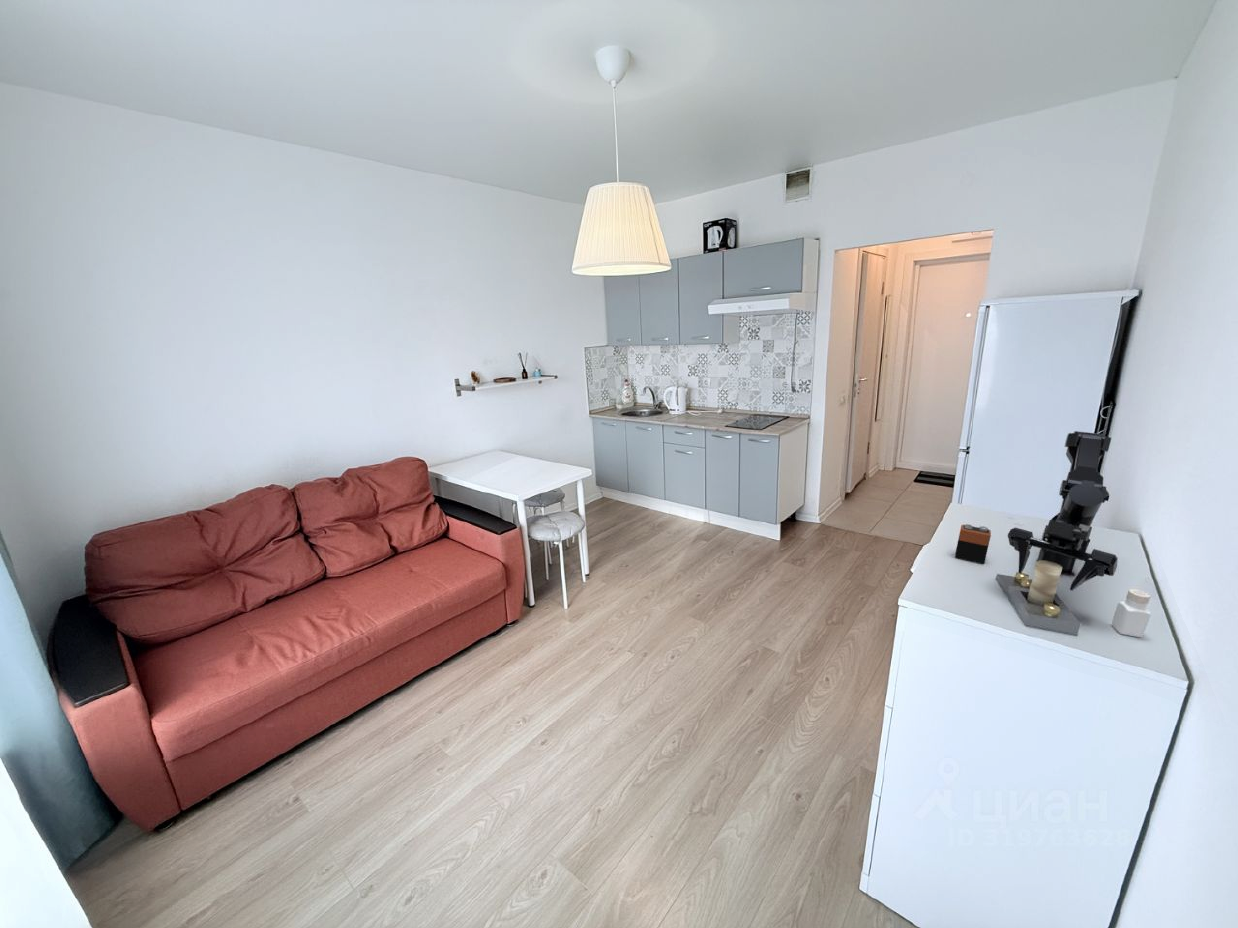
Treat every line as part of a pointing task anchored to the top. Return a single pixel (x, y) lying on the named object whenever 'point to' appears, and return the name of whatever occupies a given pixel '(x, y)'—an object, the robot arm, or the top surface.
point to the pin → (1044, 583)
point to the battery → (973, 543)
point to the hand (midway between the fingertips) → (1044, 581)
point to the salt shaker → (1132, 614)
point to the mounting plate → (1037, 606)
